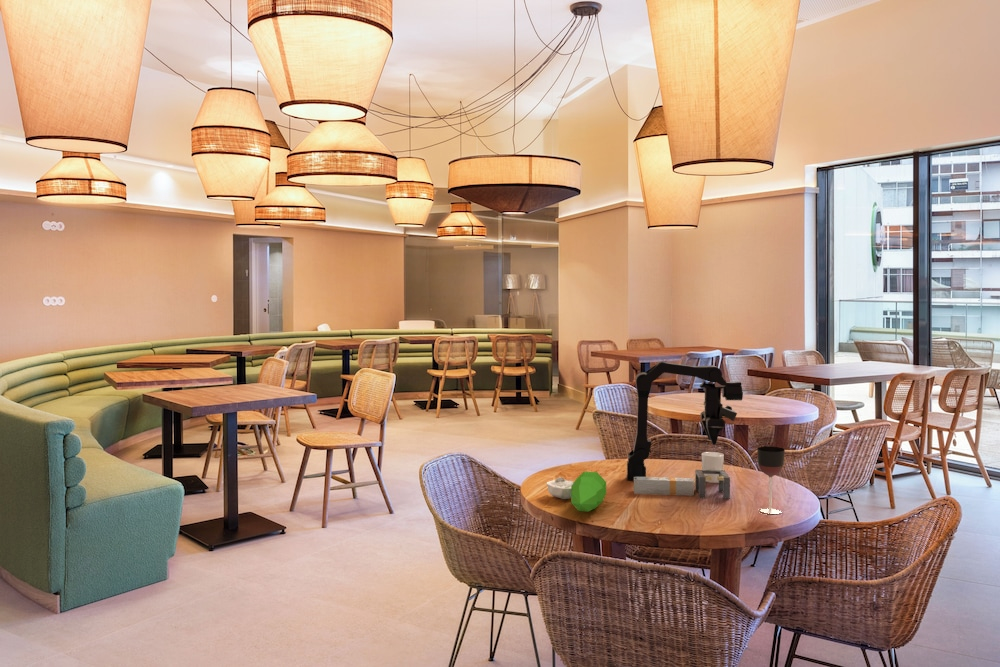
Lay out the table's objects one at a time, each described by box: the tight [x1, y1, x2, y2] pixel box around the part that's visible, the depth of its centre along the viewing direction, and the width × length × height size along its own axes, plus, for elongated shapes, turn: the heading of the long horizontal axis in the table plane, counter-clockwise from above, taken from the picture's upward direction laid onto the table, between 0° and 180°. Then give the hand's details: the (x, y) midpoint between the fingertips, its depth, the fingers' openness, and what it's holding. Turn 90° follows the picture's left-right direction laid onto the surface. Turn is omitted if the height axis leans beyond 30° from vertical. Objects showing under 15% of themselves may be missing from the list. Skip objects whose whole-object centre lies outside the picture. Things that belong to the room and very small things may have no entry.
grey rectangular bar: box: [633, 476, 695, 497], centre depth 255 cm, size 20×4×5 cm, turn 83°
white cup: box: [701, 451, 725, 484], centre depth 272 cm, size 8×8×10 cm
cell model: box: [546, 476, 574, 500], centre depth 250 cm, size 10×12×7 cm
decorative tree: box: [570, 471, 607, 512], centre depth 236 cm, size 11×12×30 cm
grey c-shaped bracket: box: [694, 469, 731, 500], centre depth 253 cm, size 10×11×7 cm
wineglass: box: [756, 445, 786, 514], centre depth 232 cm, size 8×9×20 cm
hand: (712, 442), depth 271 cm, fingers open, 9 cm apart
